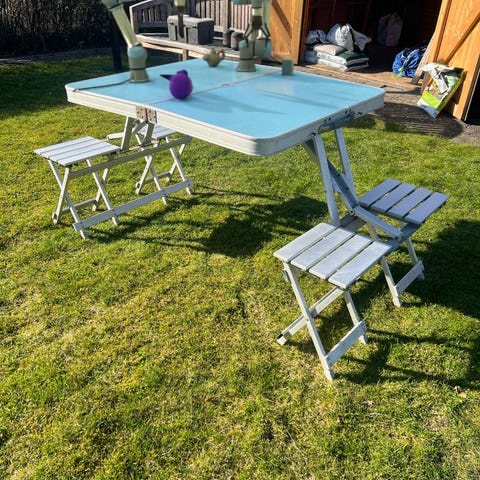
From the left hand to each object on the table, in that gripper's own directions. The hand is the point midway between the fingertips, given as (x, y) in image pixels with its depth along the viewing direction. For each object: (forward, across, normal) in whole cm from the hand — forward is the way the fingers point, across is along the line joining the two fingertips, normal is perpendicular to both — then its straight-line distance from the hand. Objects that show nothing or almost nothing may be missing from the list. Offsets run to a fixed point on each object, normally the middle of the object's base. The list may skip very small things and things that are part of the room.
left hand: (181, 37), depth 339 cm
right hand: (+5, -29, -52) cm, 59 cm away
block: (+26, -17, -80) cm, 86 cm away
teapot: (+28, +38, -30) cm, 56 cm away
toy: (+28, -72, +10) cm, 78 cm away
